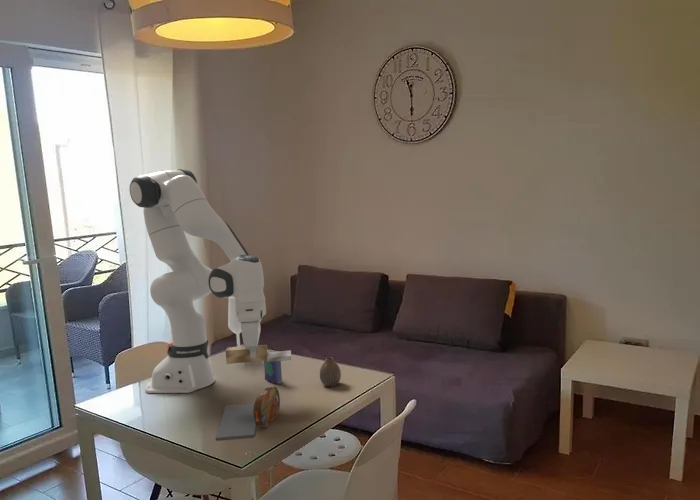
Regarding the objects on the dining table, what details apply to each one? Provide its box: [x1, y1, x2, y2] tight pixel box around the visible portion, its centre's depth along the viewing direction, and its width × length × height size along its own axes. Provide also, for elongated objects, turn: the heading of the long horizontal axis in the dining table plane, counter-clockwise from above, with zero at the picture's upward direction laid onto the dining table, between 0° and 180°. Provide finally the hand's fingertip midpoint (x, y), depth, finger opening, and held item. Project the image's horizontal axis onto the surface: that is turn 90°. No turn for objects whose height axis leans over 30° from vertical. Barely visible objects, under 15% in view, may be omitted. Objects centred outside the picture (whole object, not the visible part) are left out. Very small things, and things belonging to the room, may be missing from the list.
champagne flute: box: [227, 296, 242, 347], centre depth 224 cm, size 7×7×24 cm
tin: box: [253, 386, 281, 428], centre depth 164 cm, size 15×3×8 cm, turn 168°
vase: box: [319, 357, 342, 388], centre depth 191 cm, size 7×7×9 cm
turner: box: [225, 344, 292, 365], centre depth 177 cm, size 19×6×4 cm, turn 96°
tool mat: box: [215, 403, 257, 441], centre depth 165 cm, size 10×22×1 cm, turn 5°
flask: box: [263, 349, 283, 385], centre depth 197 cm, size 9×3×11 cm, turn 37°
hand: (254, 354), depth 177 cm, fingers closed on turner, 3 cm apart
